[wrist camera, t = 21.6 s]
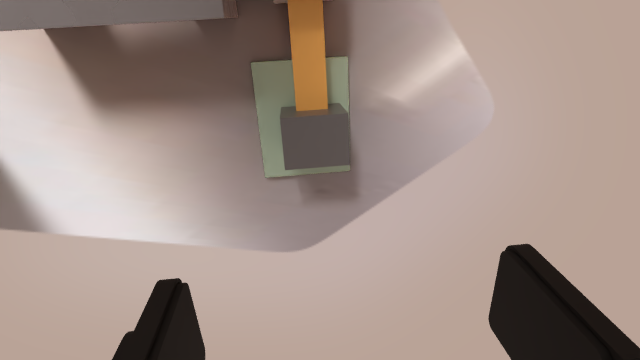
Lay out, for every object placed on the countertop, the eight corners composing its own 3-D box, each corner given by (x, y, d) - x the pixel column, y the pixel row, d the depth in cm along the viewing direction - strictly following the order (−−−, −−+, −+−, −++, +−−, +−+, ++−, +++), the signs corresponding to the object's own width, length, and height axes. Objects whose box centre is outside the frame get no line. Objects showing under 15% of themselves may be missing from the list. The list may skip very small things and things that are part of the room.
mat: (251, 62, 27) (250, 63, 26) (346, 56, 27) (347, 56, 27) (265, 175, 30) (265, 177, 30) (349, 168, 31) (350, 170, 30)
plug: (265, -56, 24) (260, -79, 19) (333, -60, 24) (343, -82, 20) (285, 152, 29) (284, 171, 24) (341, 147, 29) (350, 165, 25)
